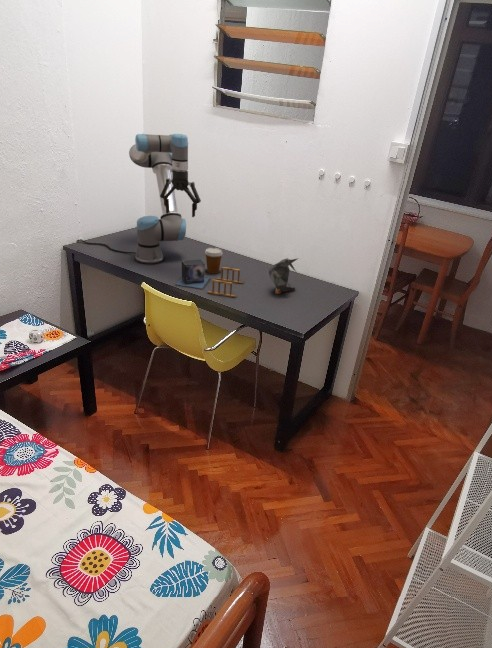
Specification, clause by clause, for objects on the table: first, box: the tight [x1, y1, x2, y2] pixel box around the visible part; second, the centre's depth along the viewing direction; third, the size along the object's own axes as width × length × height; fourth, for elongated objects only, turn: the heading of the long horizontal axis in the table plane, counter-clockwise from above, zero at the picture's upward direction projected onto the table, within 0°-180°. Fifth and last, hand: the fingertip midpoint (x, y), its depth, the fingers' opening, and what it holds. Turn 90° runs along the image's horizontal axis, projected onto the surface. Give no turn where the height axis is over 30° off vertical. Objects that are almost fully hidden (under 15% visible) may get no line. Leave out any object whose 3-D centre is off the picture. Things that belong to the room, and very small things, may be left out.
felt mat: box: [175, 276, 210, 290], centre depth 238 cm, size 14×14×1 cm
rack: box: [207, 266, 244, 299], centre depth 234 cm, size 14×19×7 cm
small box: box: [181, 258, 206, 284], centre depth 235 cm, size 11×6×10 cm, turn 117°
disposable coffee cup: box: [204, 247, 223, 274], centre depth 249 cm, size 10×10×12 cm
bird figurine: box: [268, 257, 299, 295], centre depth 235 cm, size 14×15×18 cm
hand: (180, 214), depth 231 cm, fingers open, 13 cm apart
